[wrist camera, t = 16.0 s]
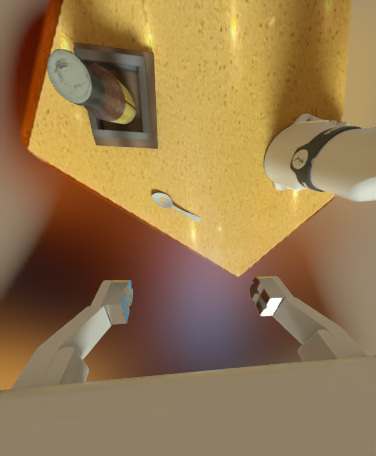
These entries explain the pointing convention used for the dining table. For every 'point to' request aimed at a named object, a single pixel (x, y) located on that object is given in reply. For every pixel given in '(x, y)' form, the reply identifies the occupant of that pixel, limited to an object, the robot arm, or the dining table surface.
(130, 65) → the box
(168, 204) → the spoon
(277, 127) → the dining table surface
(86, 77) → the sauce bottle
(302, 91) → the dining table surface
